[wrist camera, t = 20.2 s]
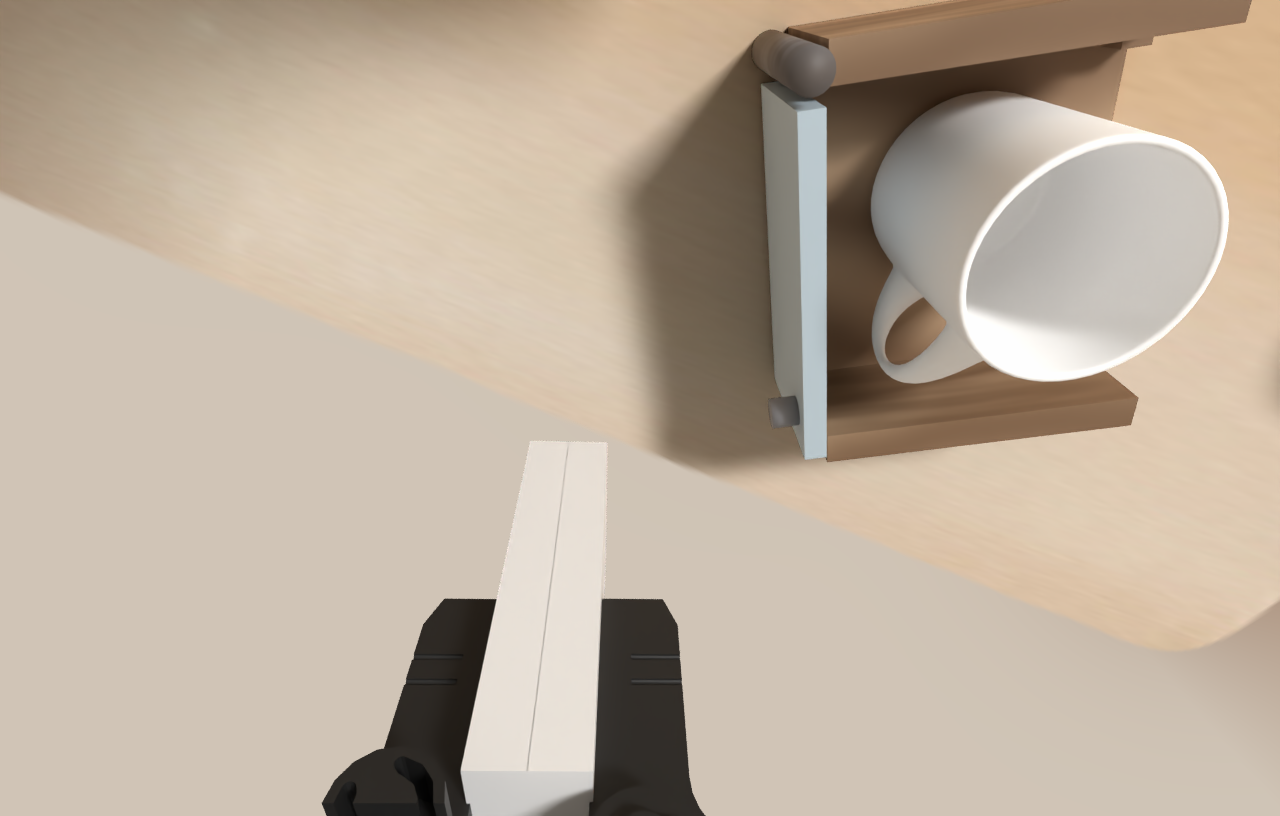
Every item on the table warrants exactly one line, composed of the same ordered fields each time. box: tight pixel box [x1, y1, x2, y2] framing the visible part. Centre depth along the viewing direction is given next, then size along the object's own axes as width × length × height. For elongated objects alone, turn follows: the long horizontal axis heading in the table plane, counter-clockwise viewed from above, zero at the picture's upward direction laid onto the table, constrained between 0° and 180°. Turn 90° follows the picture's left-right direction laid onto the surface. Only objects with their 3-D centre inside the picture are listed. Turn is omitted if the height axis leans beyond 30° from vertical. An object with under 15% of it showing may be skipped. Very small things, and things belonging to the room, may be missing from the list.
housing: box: [752, 0, 1252, 462], centre depth 30 cm, size 18×16×8 cm
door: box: [761, 81, 827, 460], centre depth 31 cm, size 15×2×8 cm, turn 8°
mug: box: [871, 91, 1229, 384], centre depth 28 cm, size 9×12×11 cm
